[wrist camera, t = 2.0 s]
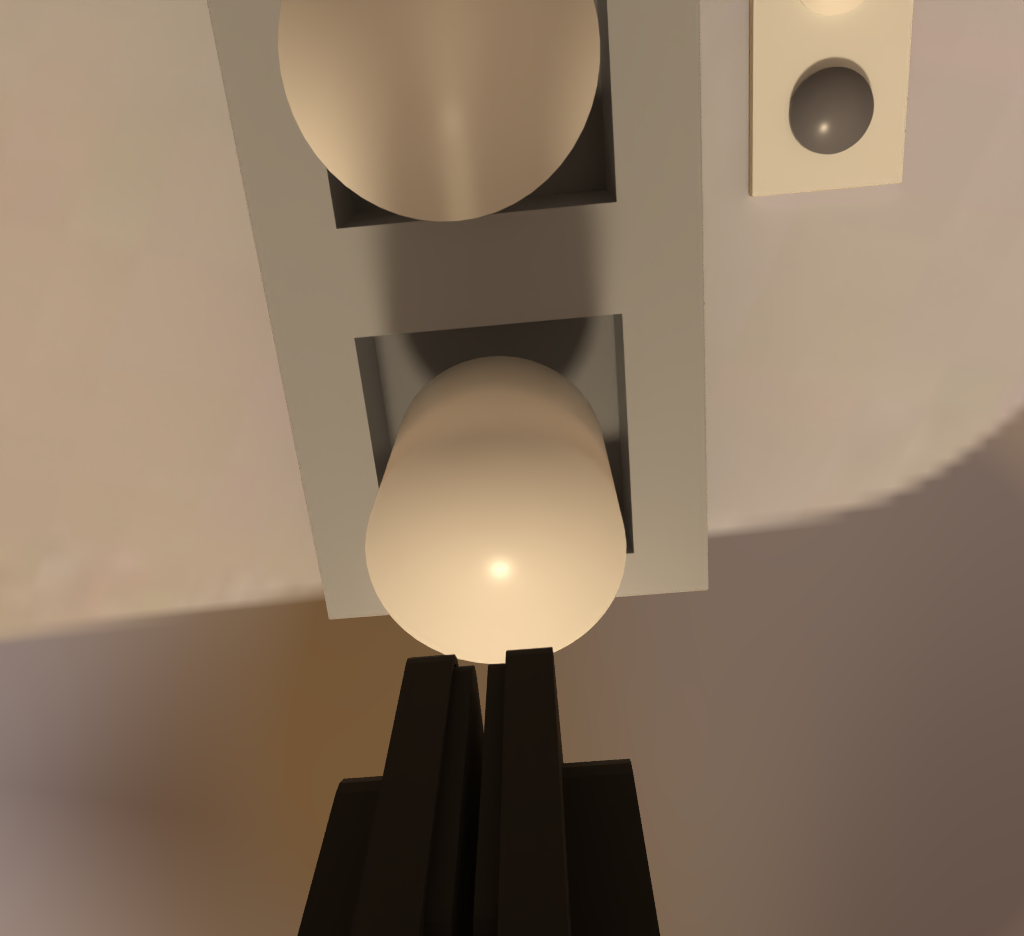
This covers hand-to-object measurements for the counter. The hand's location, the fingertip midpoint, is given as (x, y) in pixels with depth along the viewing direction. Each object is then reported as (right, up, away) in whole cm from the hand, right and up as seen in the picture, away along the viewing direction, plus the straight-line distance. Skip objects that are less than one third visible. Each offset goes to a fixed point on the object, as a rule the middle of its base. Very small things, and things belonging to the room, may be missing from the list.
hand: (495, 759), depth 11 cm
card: (+6, +13, +7) cm, 16 cm away
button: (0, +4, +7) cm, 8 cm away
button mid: (-1, +10, +4) cm, 11 cm away
